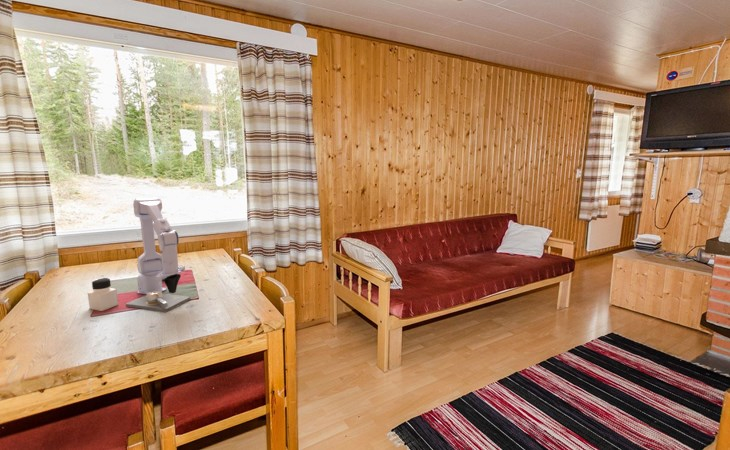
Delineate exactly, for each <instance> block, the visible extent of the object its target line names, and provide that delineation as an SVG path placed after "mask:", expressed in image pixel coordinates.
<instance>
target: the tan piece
mask: <svg viewBox="0 0 730 450" xmlns="http://www.w3.org/2000/svg"><path fill="white" fill-rule="evenodd" d="M162 293H163V291H151V292H148V293H147V294H146V295H147V303H149V304H154V303H158V304H159V305H161V306H162V307H164V308H165V307H168V304H167V302H166V301H164V300H163V299H162Z"/></svg>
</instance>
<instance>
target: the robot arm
mask: <svg viewBox="0 0 730 450" xmlns="http://www.w3.org/2000/svg"><path fill="white" fill-rule="evenodd" d="M132 206H133V211H134V212H133V214H134V216H135V217H137V218H138V219H139V221H140V228H141V229H140V230H141V237H142V238H141V239H142V246H143V247H142V248H143V253H142V254H141V255H139V256H138V257H137V266H136V267H137V271H138V273H139V275H138V276H137V279H136V280H137V290H138V291H137V292H136V294H142V295H147V293H148V292H151V291H162V292H164V291H167V290H168V294H175V293H176V292H177V287H178V283H179V280H180V278H181V273H182V272H185V271H186V266H183V265H180V266H179V257H178V245H179V242H180V238H179V234H178V232H177V230H175V229H172V227H171V225H170V223H169V221H168V220H167V219H165V218H164V217H163V215H162V209H163V204H162V200H161V198H160V197H151V198H147V197H146V198H135V199H134V200H133V204H132ZM155 233H156V235H157V243H158V246H159V247H158V248H159V251H160V253H159V252H157V247H156V240H155ZM154 258H155V259H154ZM148 259H149V260H148ZM162 271H163V272H162ZM162 281H163V282H162ZM163 283H165V286H166V288H165V287H163Z"/></svg>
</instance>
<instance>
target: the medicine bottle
mask: <svg viewBox="0 0 730 450" xmlns="http://www.w3.org/2000/svg"><path fill="white" fill-rule="evenodd" d="M111 284H112V283H111V279H110V278H108V277H100V278H96V279H94V280H93V281H91V286H92V290H91V291H88V292H87V299H88V307H89V309H90V310H95V311H99V312H104V311H105V310H106V311H107V310H108V309H111V308H113V307H116V306H118V305H119V299H118V292H117V291H118V290H117V289H116V288H112V287H111Z"/></svg>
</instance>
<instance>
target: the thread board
mask: <svg viewBox="0 0 730 450" xmlns="http://www.w3.org/2000/svg"><path fill="white" fill-rule="evenodd" d="M162 299H163V300H164V301H166V302H167V304H168V307H165V308H164V307H162V306H161V305H159V304H158V303H154V304H149V303H147V294H144V295H142V296H141V297H138V298H136V299H133V300H131V301H128V302H126V303H125V307H127V306H128V308H129V307H130V308H134V307H135V308H136V309H141V308H142V309H143V310H147V309H148V310H150V311H155V312H162V313H167V312H168V311H170V310H172V309H174V308H177V307H178V306H181V305H182V304H185V303H186V302H189V301H190V299H191V296H186V295H178V294H172V293H163V292H162ZM142 309H141V310H142Z"/></svg>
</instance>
